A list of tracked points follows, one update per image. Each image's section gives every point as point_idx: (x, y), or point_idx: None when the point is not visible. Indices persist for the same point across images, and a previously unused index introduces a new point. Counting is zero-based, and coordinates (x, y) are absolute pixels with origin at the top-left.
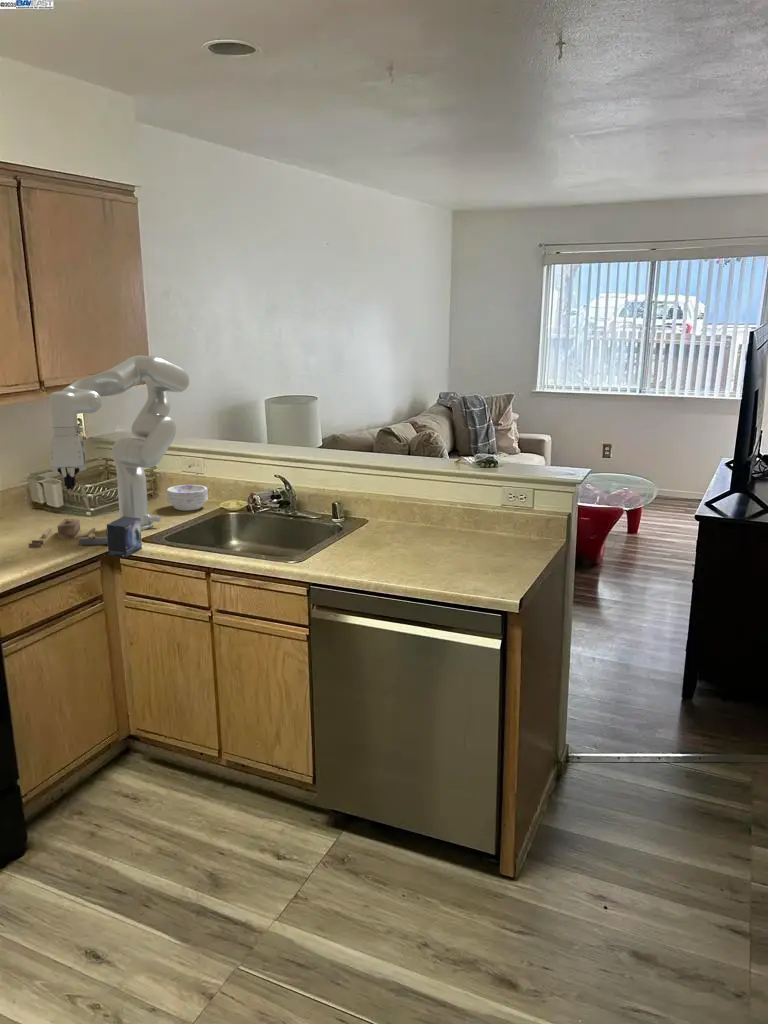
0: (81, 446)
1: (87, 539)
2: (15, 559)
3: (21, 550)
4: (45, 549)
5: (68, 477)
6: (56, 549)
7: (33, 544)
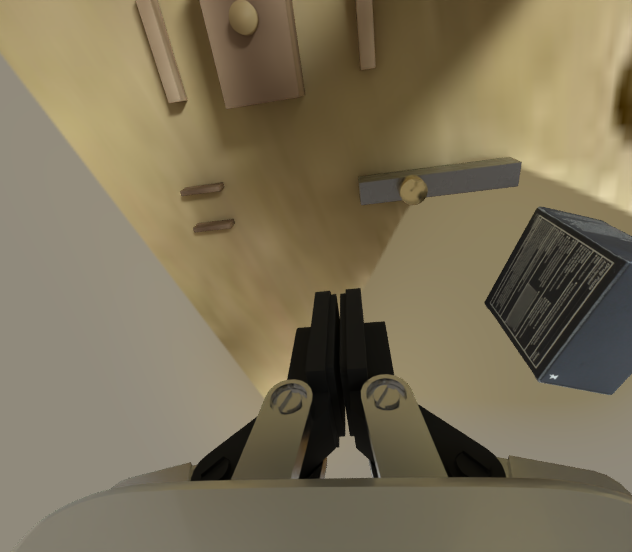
0: None
1: (394, 199)
2: (228, 327)
3: (195, 256)
4: (263, 244)
5: (344, 431)
6: (298, 242)
7: (210, 229)
